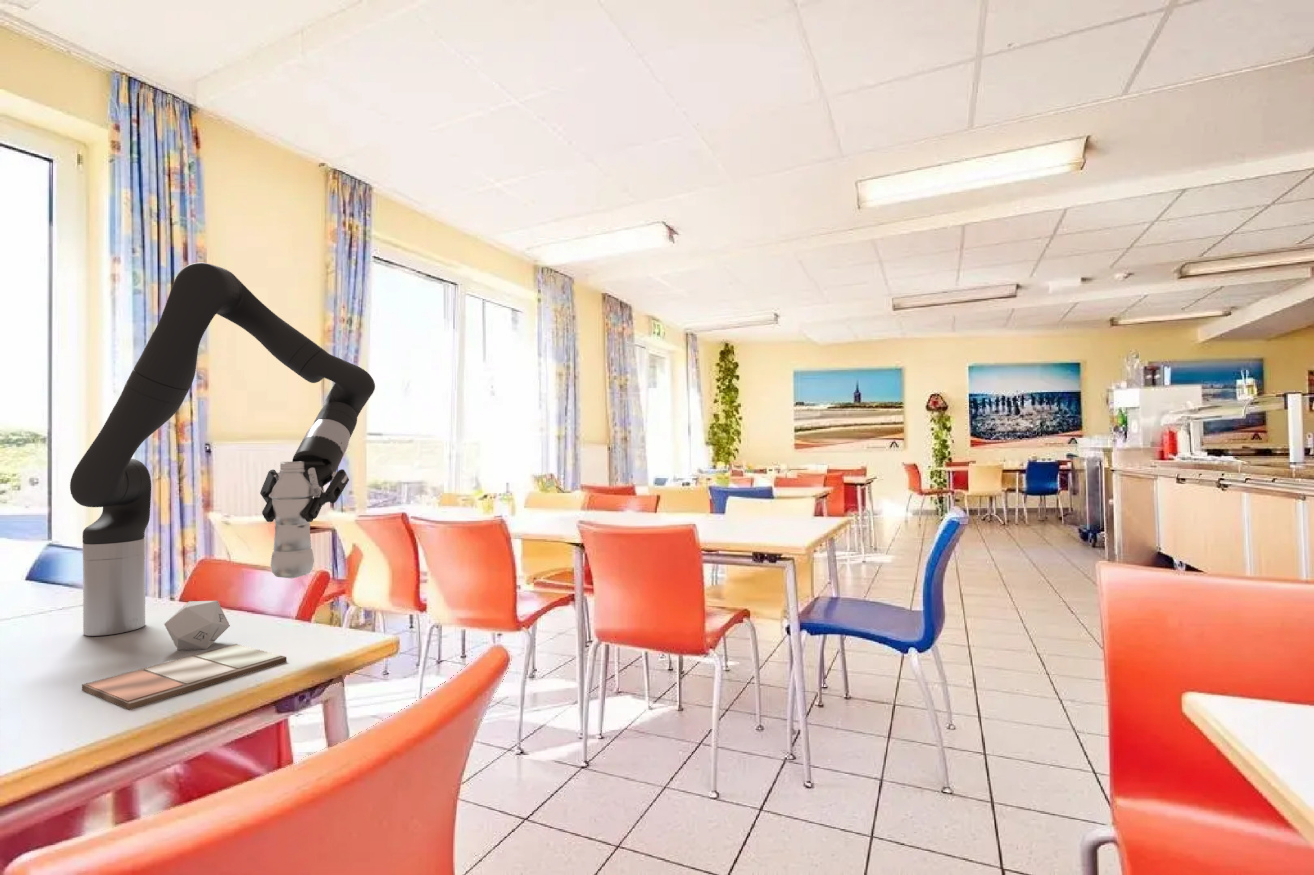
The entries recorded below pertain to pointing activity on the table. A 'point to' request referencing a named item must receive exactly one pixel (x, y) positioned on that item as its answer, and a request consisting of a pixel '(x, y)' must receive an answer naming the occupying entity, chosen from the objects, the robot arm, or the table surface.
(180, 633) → the die
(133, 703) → the game board
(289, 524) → the plastic bottle
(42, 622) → the table surface
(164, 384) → the robot arm
